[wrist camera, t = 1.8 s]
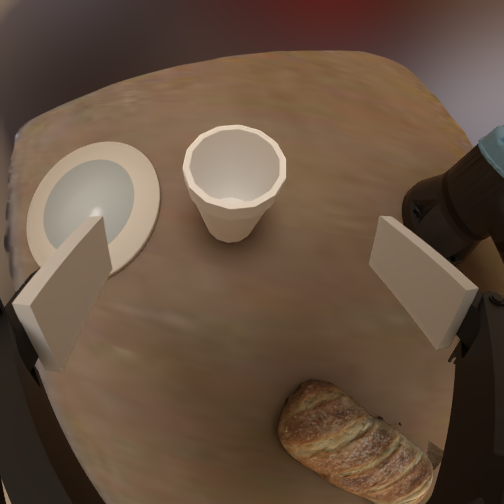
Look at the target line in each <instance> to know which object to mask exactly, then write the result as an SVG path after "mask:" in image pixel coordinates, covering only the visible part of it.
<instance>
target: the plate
mask: <svg viewBox="0 0 504 504" xmlns="http://www.w3.org/2000/svg"><path fill="white" fill-rule="evenodd" d="M160 203H161V192H160V186H159V182H158V178H157V175H156V172H155V170H154V168H153V166H152V164H151V163H150V161H149V160H148V159H147V157H146V156H145V155H143V154H142V153H141V152H140V151H138V150H137V149H136V148H134V147H131V146H129V145H127V144H123V143H118V142H99V143H94V144H90V145H87V146H84V147H81V148H79V149H77V150H75V151H73V152H72V153H70V154H68V155H67V156H65V157H64V158H63V159H61V160H60V161H59V162H58V163H57V164H56V165H55V166H53V168H52V169H51V170H50V171H49V172H48V173H47V174H46V176H45V177H44V178H43V180H42V181H41V183H40V184H39V186H38V188H37V190H36V192H35V194H34V196H33V199H32V201H31V204H30V208H29V212H28V217H27V239H28V244H29V247H30V250H31V253H32V255H33V257H34V259H35V261H36V262H37V263H38V265H39V266H40V267H42V266H43V264H44V263H45V262H46V261H47V260H48V259H49V258H50V257H51V255H52V254H53V253H54V252H55V251H56V250H57V249H58V248H59V247H60V246H61V245H62V243H63V242H64V241H65V240H66V239H67V238H68V237H69V236H70V235H71V234H72V233H73V232H74V231H75V230H76V229H77V228H78V227H79V226H80V225H81V224H82V223H83V222H84V221H85V220H86V219H87V218H88V217H92V216H103V218H104V225H105V231H106V237H107V243H108V248H109V254H110V259H111V264H112V271H111V272H110V274H109V276H108V278H109V277H111V276H113V275H114V274H116V273H118V272H119V271H121V270H122V269H123V268H125V267H126V266H127V265H128V264H129V263H130V262H131V261H133V260H134V259H135V258H136V256H137V255H138V254H139V253H140V252H141V250H142V249H143V248H144V246H145V245H146V243H147V242H148V240H149V238H150V236H151V234H152V232H153V230H154V228H155V225H156V222H157V219H158V215H159V211H160Z"/></svg>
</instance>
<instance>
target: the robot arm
mask: <svg viewBox="0 0 504 504" xmlns="http://www.w3.org/2000/svg"><path fill="white" fill-rule="evenodd" d="M402 213H403V221H404V225H405V226H404V225H402V224H401V223H400V222H398V221H397V220H396V219H394V218H393V217H392V216H379V221H378V225H377V230H376V235H375V239H374V243H373V248H372V252H371V256H370V260H369V266H370V267H371V268H372V269H373V270H374V271H375V273H376V274H377V275H378V276H379V277H380V279H381V280H382V281H383V282H384V283H385V285H386V286H387V287H388V288H389V289H390V291H391V292H392V293H393V294H394V296H395V297H396V298H397V299H398V301H399V302H400V303H401V304H402V306H403V307H404V308H405V309H406V311H407V312H408V313H409V314H410V316H411V317H412V318H413V320H414V321H415V322H416V324H417V325H418V326H419V327H420V329H421V330H422V331H423V333H424V334H425V335H426V337H427V338H428V339H429V341H430V342H431V344H432V345H433V346H434V348H435V349H436V350H440V349H443V348H447V347H449V346H450V345H451V343H452V341H453V339H454V337H455V336H456V335H457V336H458V337H459V338H460V341H459V343H458V344H457V346H456V348H455V349H454V351H453V353H452V354H451V356H450V358H449V360H448V362H451V360H452V359H453V358H454V357H456V360H455V361H454V364H456V366H455V380H454V391H453V400H452V408H451V415H450V422H449V428H448V433H447V439H446V444H445V448H444V453H443V457H442V462H441V466H440V469H439V473H438V477H437V480H436V484H435V487H434V490H433V493H432V495H431V497H430V499H429V500H428V501H427V503H426V504H504V298H502V297H501V296H500V295H498V294H496V293H494V292H490V291H488V292H485V293H484V294H482V293H481V292H480V291H479V290H478V289H479V288H478V287H477V286H476V285H475V284H473V283H472V282H471V281H470V280H469V279H468V278H467V277H466V276H465V275H464V274H462V273H461V272H460V271H459V270H458V269H457V268H456V267H454V265H457V264H459V263H461V262H462V261H464V260H465V259H466V258H467V257H468V256H469V254H470V253H471V252H472V251H473V250H474V249H475V248H476V246H477V245H478V244H479V243H480V242H481V241H482V240H484V239H486V238H487V237H490V236H491V238H492V239H493V241H494V243H495V245H496V247H497V250H498V252H499V254H500V256H501V258H502V261H503V263H504V125H502V126H498V127H496V128H495V129H494V130H493V131H491V132H490V133H489V134H488V135H486V136H484V137H482V138H481V139H480V140H479V143H478V144H477V145H476V146H475V147H474V148H473V149H472V150H471V151H470V152H468V153H467V154H466V155H465V156H464V157H463V158H462V159H461V160H459V161H458V162H457V163H456V164H455V165H454V166H453V167H451V168H450V169H449V170H448V171H447V172H446V173H444V174H442V175H438V176H435V177H432V178H428V179H425V180H422V181H420V182H418V183H417V184H416V185H414V186H413V187H412V188H411V189H410V190H409V191H408V192H407V194H406V196H405V198H404V201H403V208H402ZM111 271H112V264H111V259H110V254H109V248H108V243H107V237H106V231H105V225H104V218H103V216H92V217H88V218H87V219H86V220H85V221H84V222H83V223H82V224H81V225H80V226H79V227H78V228H77V229H76V230H75V231H74V232H73V233H72V234H71V235H70V236H69V237H68V238H67V239H66V240H65V241H64V242H63V243H62V245H61V246H60V247H59V248H58V249H57V250H56V251H55V252H54V253H53V254H52V255H51V257H50V258H49V259H48V260H47V261H46V262H45V263H44V264H43V266H42V267H41V268H39V269H38V270H36V271H35V272H34V273H32V274H31V275H30V276H29V277H28V278H27V280H26V281H25V284H22V286H21V287H20V288H19V290H18V291H17V292H16V293H15V294H14V296H13V297H12V299H11V300H10V301H9V302H8V303H7V305H6V306H5V307H4V306H3V304H2V301H1V299H0V504H6V501H5V497H4V492H3V486H2V481H3V484H4V486H5V489H6V491H7V494H8V497H9V499H10V501H11V504H105V502H104V501H103V499H102V498H101V496H100V495H99V493H98V492H97V490H96V489H95V487H94V486H93V484H92V483H91V481H90V480H89V478H88V476H87V475H86V473H85V472H84V470H83V468H82V467H81V465H80V463H79V461H78V460H77V458H76V456H75V454H74V452H73V450H72V449H71V447H70V445H69V443H68V441H67V439H66V437H65V435H64V433H63V431H62V429H61V427H60V424H59V422H58V420H57V418H56V416H55V413H54V411H53V409H52V406H51V404H50V401H49V399H48V396H47V394H46V391H45V389H44V386H43V383H42V380H41V378H40V375H39V372H38V370H37V369H36V367H35V366H34V365H35V363H36V361H37V359H38V357H39V359H40V361H41V363H42V364H43V366H44V368H45V369H46V370H51V371H57V372H62V373H63V371H64V369H65V366H66V364H67V362H68V359H69V357H70V354H71V352H72V350H73V348H74V345H75V343H76V341H77V339H78V336H79V334H80V332H81V330H82V328H83V325H84V323H85V321H86V319H87V317H88V315H89V313H90V311H91V309H92V307H93V305H94V303H95V301H96V299H97V297H98V295H99V293H100V291H101V289H102V287H103V285H104V284H105V282H106V280H107V278H108V276H109V274H110V272H111ZM1 478H2V481H1Z"/></svg>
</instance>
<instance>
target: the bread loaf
mask: <svg viewBox="0 0 504 504" xmlns="http://www.w3.org/2000/svg"><path fill="white" fill-rule="evenodd" d="M310 401H311V402H312V403H310ZM379 418H380V419H381V420H379V419H376V418H375V417H372V416H370V415H369V414H368V412H366V411H365V410H364V408H362V407H361V406H360V405H359V404H357V402H356V401H355V400H354V399H353V398H352V397H349V396H348V395H346V393H344V392H343V391H342V390H340V389H339V388H338V387H337V386H335V385H334V384H332V383H329V382H324V381H320V380H318V381H317V380H314V381H313V380H309V381H307V382H305V383H301V384H300V387H299V388H298V389H297V390H296V391H295V392H294V393H292V394H291V395H290V396H289V398H287V399H286V402H285V405H284V408H283V410H282V412H281V414H280V418H279V420H278V427H277V435H278V438H279V439H280V442H281V444H282V446H283V447H284V448H285V449H286V451H287V452H288V453H290V455H291V456H292V457H293V458H295V459H296V460H298V461H299V462H300V463H302V464H303V465H304V466H306V467H308V468H310V469H311V470H313V471H315V472H317V473H318V474H319V475H320V476H321V477H322V478H324V479H325V480H326V481H328V482H330V483H332V484H333V485H335V486H337V487H339V488H341V489H343V490H345V491H347V492H348V493H352V494H356V495H358V496H361V497H364V498H366V499H368V500H370V501H372V502H373V503H374V504H417V503H418V502H419V501H420V500H421V499H422V498H424V496H425V495H426V493H427V492H428V490H429V488H430V486H431V482H432V478H433V469H434V470H435V468H436V467H437V466H438V465H439V463H440V462H441V460H442V457H443V453H444V451H443V450H441V449H440V448H438V447H437V446H436V445H434V444H433V443H431V442H430V441H428V446H429V448H428V452H427V453H428V457H427V455H426V454H425V453H424V452H423V451H422V450H420V449H419V448H418V447H417V446H416V445H414V444H413V443H412V442H410V441H409V440H408V438H406V437H407V436H406V437H405V436H403V435H402V434H401V433H400V432H399V431H398V430H397V428H394V427H392V426H391V425H389V424H386V423H385V422H383V421H382V420H383V418H382V417H379ZM399 425H401V424H400V423H399ZM432 467H433V469H432Z"/></svg>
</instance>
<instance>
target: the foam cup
mask: <svg viewBox="0 0 504 504" xmlns="http://www.w3.org/2000/svg"><path fill="white" fill-rule="evenodd" d="M183 173H184V179H185V183H186V186H187V189H188V191H189V194H190V197H191V200H192V201H193V202H195V204H196V206H197V208H198V210H199V212H200V214H201V216H202V218H203V220H204V222H205V225H206V227H207V229H208V231H209V232H210V233H211V234H212V235H213V236H214V237H215V238H216V239H217V240H220V241H223V242H227V243H231V242H239V241H241V240H242V239H244V238H245V237H247V236H248V235H249V234H250V233H251V231H252V230H253V228H254V227H255V225H256V224H257V223H258V221H259V220H260V218H261V217H262V215H263V214H264V212H265V211H266V210H267V209H268V208H270V207H271V206H272V204H273V203H274V201H275V199H276V198H277V196H278V195H279V193H280V191H281V189H282V187H283V184H284V181H285V179H286V158H285V157H284V155H283V153H282V151H281V149H280V148H279V146H278V144H277V142H275V141H274V140H273V139H271V138H270V137H268V136H267V135H266V134H264V133H263V132H262V131H260V130H257V129H253V128H249V127H246V126H242V125H231V126H218V127H216V128H214V129H212V130H209V131H207V132H205V133H203V134H201V135H199V136H198V137H197V139H196V140H195V141H194V142H193V143H192V144H191V145H190V147H189V148H188V149H187V151H186V155H185V159H184V164H183Z"/></svg>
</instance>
